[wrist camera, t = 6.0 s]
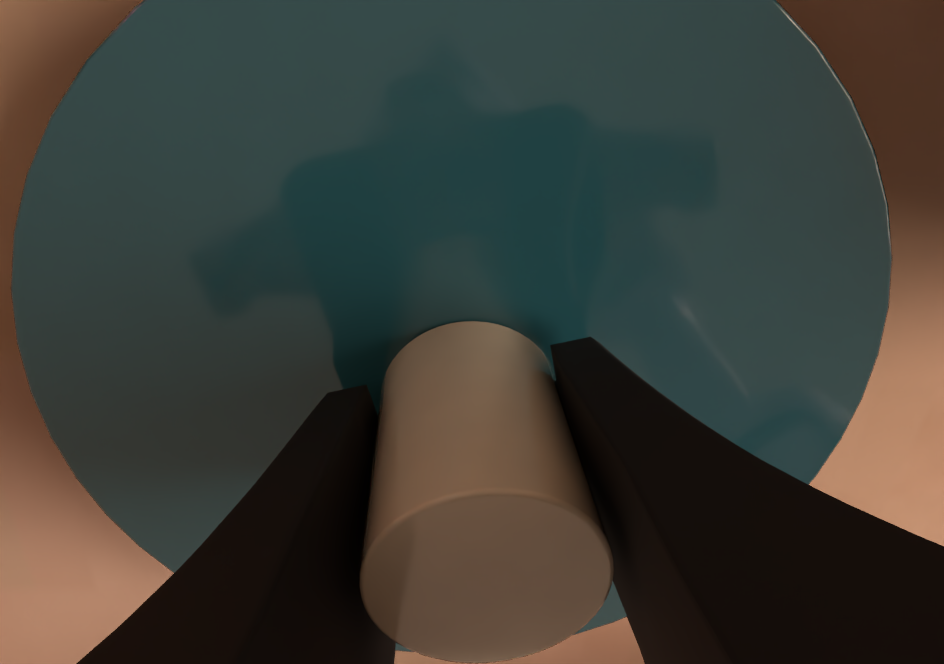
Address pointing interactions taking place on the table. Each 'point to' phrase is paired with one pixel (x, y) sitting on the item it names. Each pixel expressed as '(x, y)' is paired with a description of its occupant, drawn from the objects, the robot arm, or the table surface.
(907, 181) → the table surface
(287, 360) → the lid
